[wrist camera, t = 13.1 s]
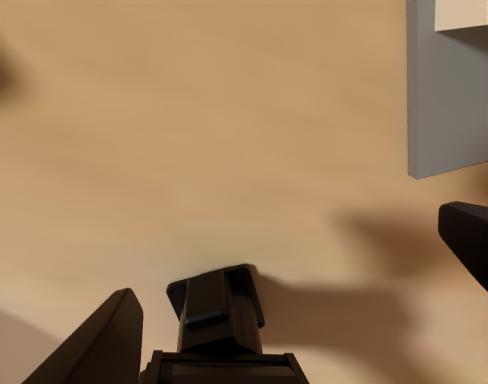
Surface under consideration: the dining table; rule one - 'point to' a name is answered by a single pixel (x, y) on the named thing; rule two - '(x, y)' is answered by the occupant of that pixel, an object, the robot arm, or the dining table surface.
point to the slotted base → (446, 85)
